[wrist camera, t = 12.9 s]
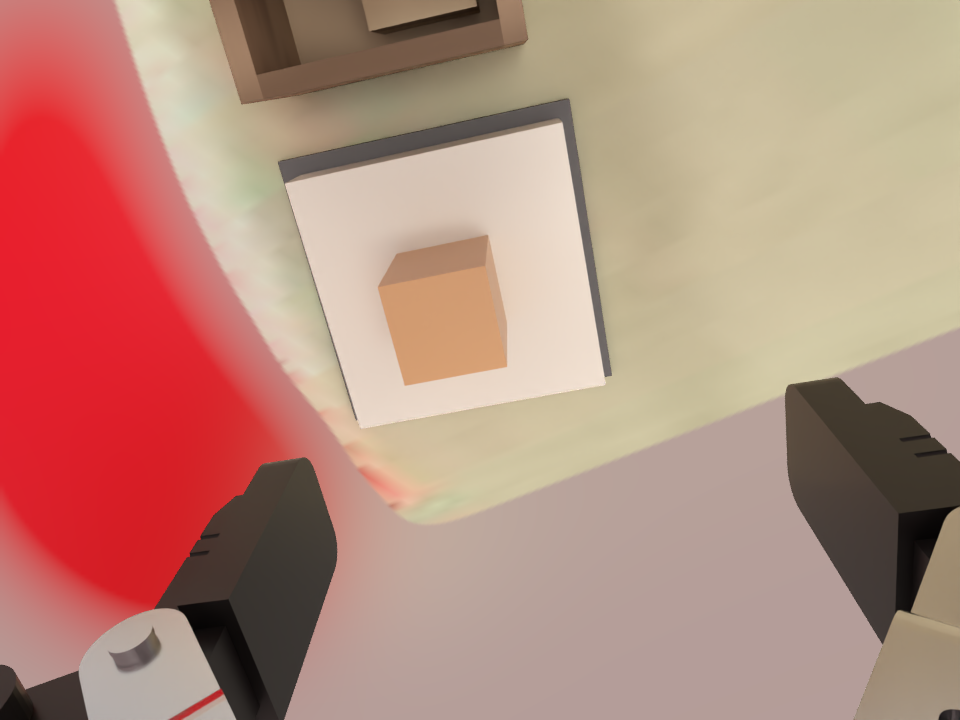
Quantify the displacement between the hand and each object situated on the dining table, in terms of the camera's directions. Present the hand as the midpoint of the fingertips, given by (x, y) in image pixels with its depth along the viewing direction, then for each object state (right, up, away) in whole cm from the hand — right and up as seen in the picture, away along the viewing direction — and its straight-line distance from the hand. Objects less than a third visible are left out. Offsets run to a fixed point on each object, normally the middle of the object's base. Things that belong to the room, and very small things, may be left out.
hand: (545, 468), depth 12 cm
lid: (-2, +6, +22) cm, 23 cm away
